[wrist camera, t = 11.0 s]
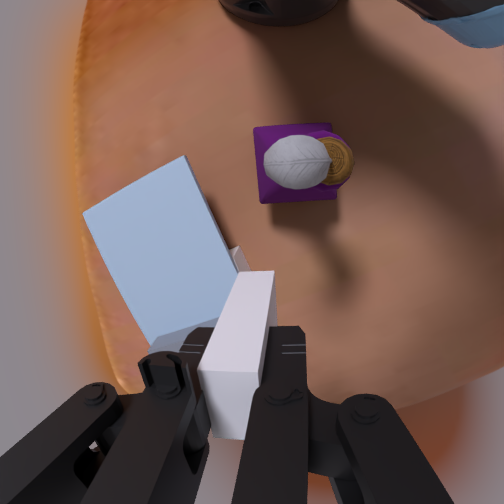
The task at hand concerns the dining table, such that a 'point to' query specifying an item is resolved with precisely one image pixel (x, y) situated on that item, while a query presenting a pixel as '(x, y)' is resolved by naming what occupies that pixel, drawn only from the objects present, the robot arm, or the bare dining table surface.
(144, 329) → the lid
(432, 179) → the dining table surface
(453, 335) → the dining table surface
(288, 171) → the perfume bottle
